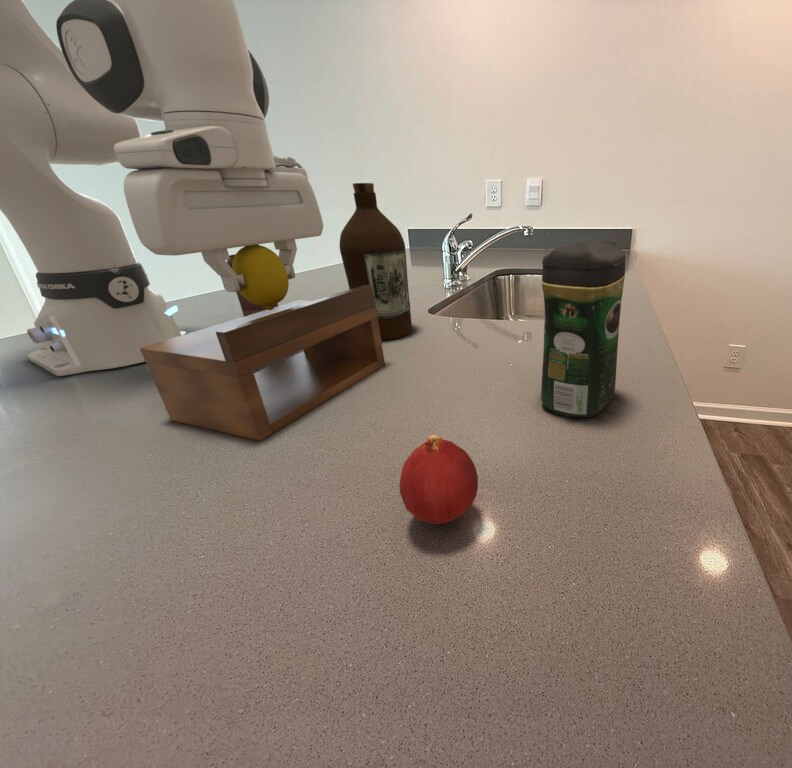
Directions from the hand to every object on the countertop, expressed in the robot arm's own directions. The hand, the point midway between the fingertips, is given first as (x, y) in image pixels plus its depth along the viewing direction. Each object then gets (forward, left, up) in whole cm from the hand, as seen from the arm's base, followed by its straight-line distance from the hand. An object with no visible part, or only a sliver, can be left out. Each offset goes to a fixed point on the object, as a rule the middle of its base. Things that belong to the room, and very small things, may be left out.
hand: (262, 284), depth 49 cm
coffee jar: (+37, +8, -14) cm, 40 cm away
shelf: (0, 0, -14) cm, 14 cm away
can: (-27, +20, -14) cm, 36 cm away
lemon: (0, 0, -3) cm, 3 cm away
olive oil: (-2, +24, -14) cm, 28 cm away
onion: (+31, -15, -14) cm, 37 cm away
